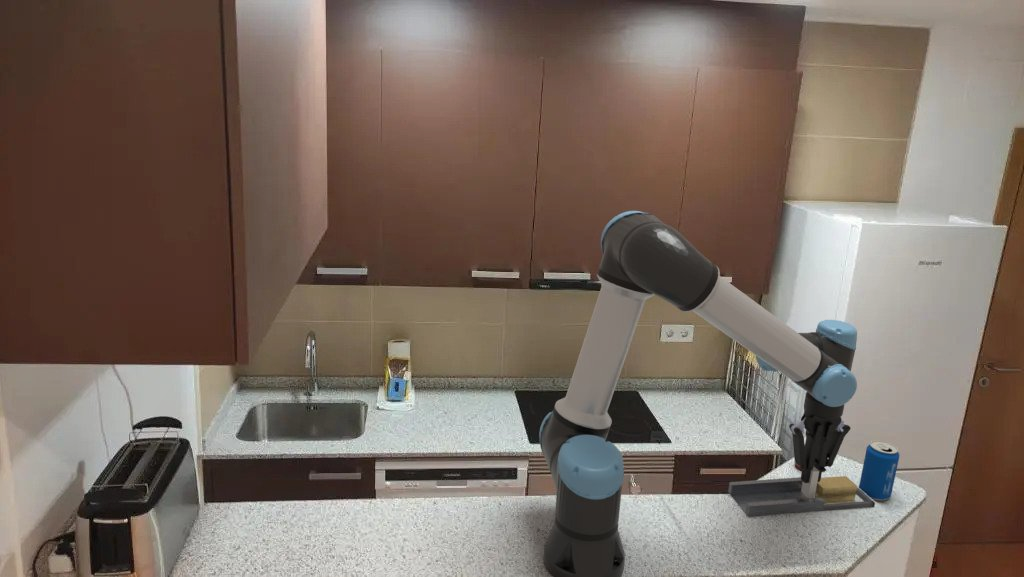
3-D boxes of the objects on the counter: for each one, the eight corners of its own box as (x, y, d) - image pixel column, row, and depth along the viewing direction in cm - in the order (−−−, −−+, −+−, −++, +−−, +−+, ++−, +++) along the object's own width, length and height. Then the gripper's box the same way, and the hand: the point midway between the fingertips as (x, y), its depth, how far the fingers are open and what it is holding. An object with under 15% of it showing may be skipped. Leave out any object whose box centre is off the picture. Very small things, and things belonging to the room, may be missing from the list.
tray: (821, 517, 150) (823, 506, 149) (796, 490, 159) (797, 480, 158) (872, 513, 152) (875, 502, 151) (844, 487, 161) (846, 477, 160)
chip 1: (820, 507, 152) (823, 488, 151) (809, 496, 156) (812, 478, 154) (837, 505, 153) (840, 487, 151) (826, 495, 156) (829, 477, 155)
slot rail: (747, 522, 147) (749, 506, 145) (727, 498, 155) (729, 482, 154) (821, 517, 150) (824, 500, 148) (798, 493, 158) (801, 477, 157)
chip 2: (837, 505, 153) (840, 487, 151) (826, 495, 156) (829, 477, 155) (853, 504, 153) (857, 486, 152) (842, 493, 157) (846, 476, 156)
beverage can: (872, 504, 155) (882, 455, 151) (851, 488, 161) (861, 440, 157) (897, 500, 156) (907, 452, 153) (875, 484, 162) (885, 437, 159)
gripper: (807, 403, 141) (789, 506, 148) (865, 401, 144) (845, 502, 150) (787, 388, 148) (770, 486, 155) (843, 385, 151) (824, 483, 157)
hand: (807, 494), depth 153 cm, fingers closed
